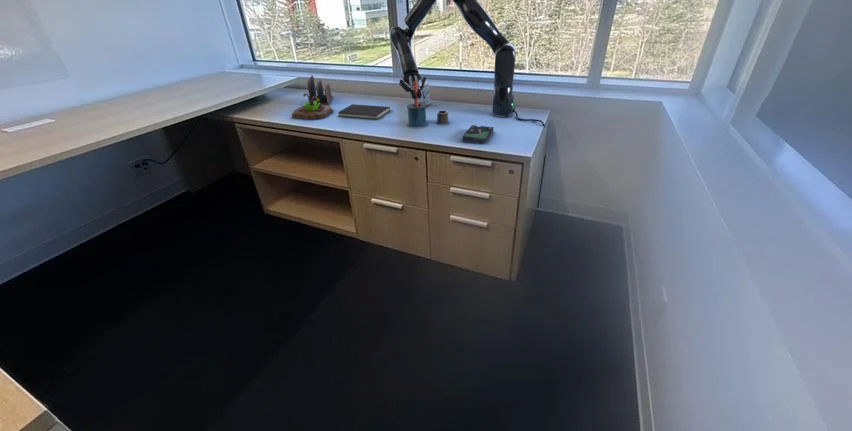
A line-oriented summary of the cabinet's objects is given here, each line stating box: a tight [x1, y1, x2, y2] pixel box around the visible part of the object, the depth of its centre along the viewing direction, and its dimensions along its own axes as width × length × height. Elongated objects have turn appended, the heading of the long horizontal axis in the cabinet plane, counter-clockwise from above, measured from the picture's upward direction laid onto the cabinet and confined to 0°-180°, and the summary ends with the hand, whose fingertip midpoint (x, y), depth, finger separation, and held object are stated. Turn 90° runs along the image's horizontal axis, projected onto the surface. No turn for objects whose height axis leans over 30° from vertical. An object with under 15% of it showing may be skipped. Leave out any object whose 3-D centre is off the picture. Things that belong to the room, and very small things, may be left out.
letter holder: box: [307, 75, 333, 106], centre depth 224 cm, size 10×20×14 cm, turn 6°
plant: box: [291, 93, 333, 121], centre depth 203 cm, size 20×20×11 cm
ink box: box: [418, 81, 431, 106], centre depth 209 cm, size 9×5×12 cm, turn 147°
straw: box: [413, 81, 418, 107], centre depth 177 cm, size 2×2×14 cm
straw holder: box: [436, 110, 449, 125], centre depth 183 cm, size 5×5×6 cm
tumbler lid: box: [406, 102, 427, 109], centre depth 179 cm, size 9×9×1 cm
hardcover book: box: [337, 103, 391, 121], centre depth 203 cm, size 16×23×2 cm
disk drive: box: [461, 124, 495, 144], centre depth 166 cm, size 10×3×15 cm
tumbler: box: [407, 105, 427, 128], centre depth 182 cm, size 9×9×9 cm
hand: (417, 98), depth 175 cm, fingers closed on straw, 2 cm apart
